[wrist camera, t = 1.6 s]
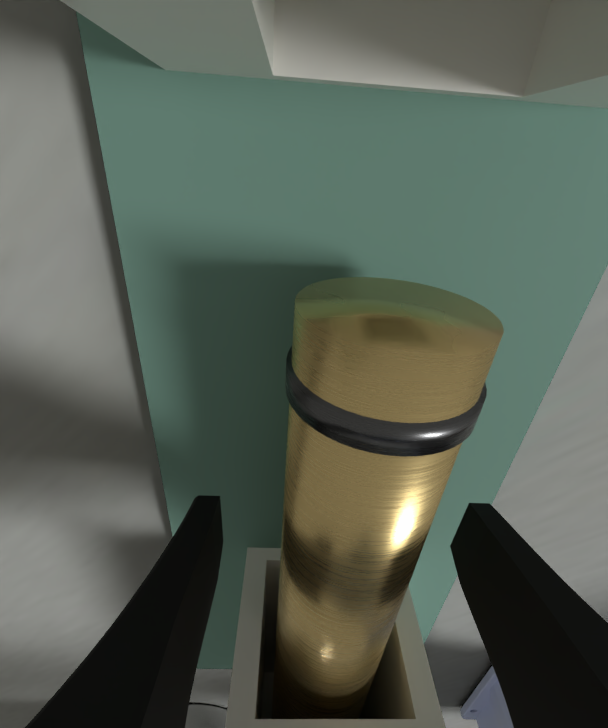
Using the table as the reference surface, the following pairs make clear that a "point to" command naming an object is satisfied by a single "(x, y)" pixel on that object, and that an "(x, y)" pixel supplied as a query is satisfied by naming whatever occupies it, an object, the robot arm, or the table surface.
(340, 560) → the tube
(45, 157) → the table surface
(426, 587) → the mat
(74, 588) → the table surface
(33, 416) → the table surface
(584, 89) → the socket
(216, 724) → the white tall cylinder
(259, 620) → the sleeve
